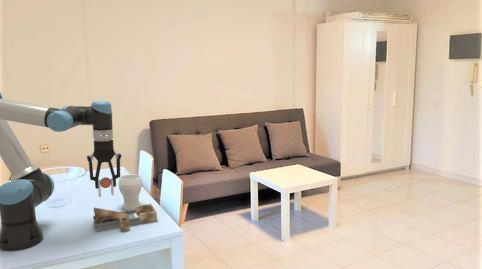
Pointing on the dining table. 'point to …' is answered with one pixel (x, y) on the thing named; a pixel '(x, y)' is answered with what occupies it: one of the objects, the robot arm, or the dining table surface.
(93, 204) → the dining table surface
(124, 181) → the cup
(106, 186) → the ball
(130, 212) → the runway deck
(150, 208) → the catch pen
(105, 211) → the ramp
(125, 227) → the hollow wooden block
